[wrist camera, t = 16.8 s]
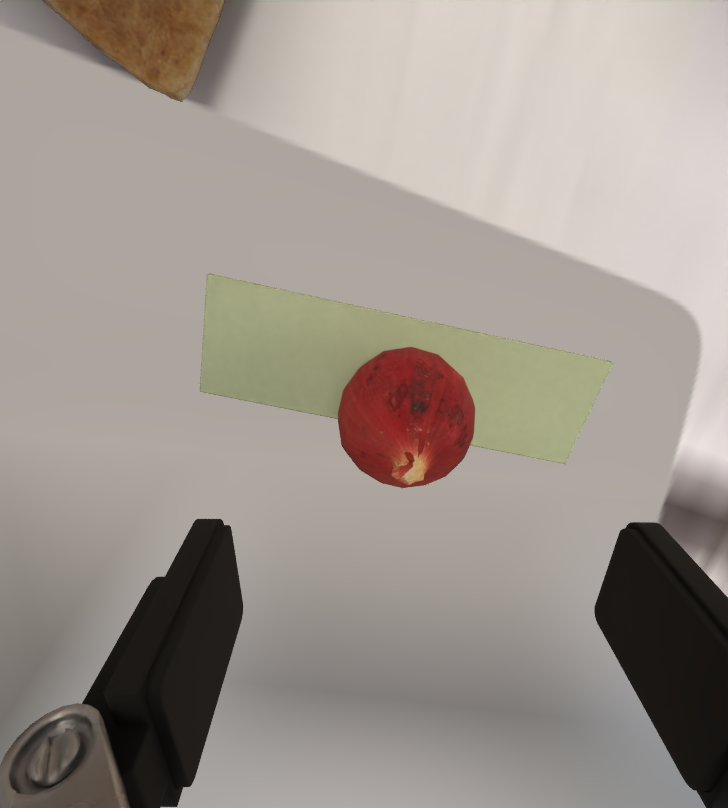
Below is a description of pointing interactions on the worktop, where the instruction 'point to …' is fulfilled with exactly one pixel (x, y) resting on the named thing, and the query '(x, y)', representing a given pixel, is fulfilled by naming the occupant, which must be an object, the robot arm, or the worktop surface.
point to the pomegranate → (406, 417)
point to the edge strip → (380, 331)
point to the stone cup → (148, 36)
